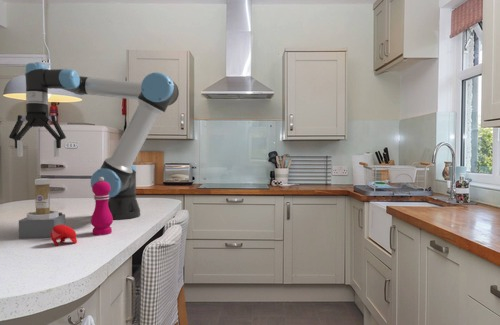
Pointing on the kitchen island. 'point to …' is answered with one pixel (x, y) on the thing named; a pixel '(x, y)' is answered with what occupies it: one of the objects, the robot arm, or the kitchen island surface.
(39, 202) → the sprinkles bottle
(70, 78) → the robot arm
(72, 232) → the red animal figurine
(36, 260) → the kitchen island surface
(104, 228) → the pepper mill
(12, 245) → the kitchen island surface
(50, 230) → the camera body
